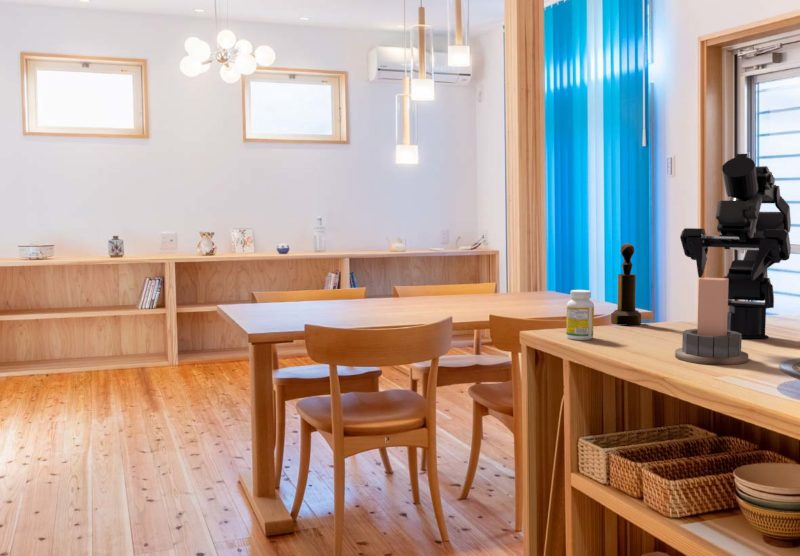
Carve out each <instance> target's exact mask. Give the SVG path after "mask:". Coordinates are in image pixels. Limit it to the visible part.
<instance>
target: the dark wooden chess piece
mask: <svg viewBox="0 0 800 556" xmlns="http://www.w3.org/2000/svg"><path fill="white" fill-rule="evenodd" d="M634 253H635V246H634V245H633V244H631V243H624V244H622V245H621V246H620V254H621V256H622V257H623V263H621V266H622V267H621V268H622V272H623V273H618V274H617V309H615V310H614V311H612V312H611V315H610V324H613V325H618V326H619V325H620V326H638V325H641V324H642V313H641V312H640V311H639V310H638V309H636V291H637V290H636V288H637V286H636V285H637V284H636V282H637V281H636V280H637V275H636V274H635V273H634V274H633V273H631V272H632V268H633V263H632V260H631V259H632V256H633V255H634ZM637 324H638V325H637Z"/></svg>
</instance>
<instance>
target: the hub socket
mask: <svg viewBox="0 0 800 556" xmlns="http://www.w3.org/2000/svg"><path fill="white" fill-rule="evenodd" d="M742 339H743V338H742V334H741V333H738V332H735V331H729V330H727V336H705V335H698V334H697V328H690V329H689V328H688V329H684V330H683V331H682V346H681V347H679V348H676V349H675V350H674V351H675V353H674V355H675V357H674V358H676V359H678V360H680V361H684V362H687V363H692V364H693V363H694V364H701V365H712V366H713V365H714V366H734V365H742V364H747V363H748V362H749V354H748V353H747V352H745V351H743V350H742Z"/></svg>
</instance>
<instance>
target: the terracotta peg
mask: <svg viewBox="0 0 800 556" xmlns="http://www.w3.org/2000/svg"><path fill="white" fill-rule="evenodd" d="M728 283H729V279H728V278H724V277H708V276H707V277H701V278H698V294H697V296H698V297H697V299H698V301H697V328H696V329H697V334H698V335H705V336H727V313H728V312H729V308H728V307H729V306H728Z"/></svg>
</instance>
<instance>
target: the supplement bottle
mask: <svg viewBox="0 0 800 556" xmlns="http://www.w3.org/2000/svg"><path fill="white" fill-rule="evenodd" d="M569 293H570V295H569V297H570V298H571V299H570V300H568V302H567V303H566V338H567V339H569V340H574V341H587V340H592V339H593V338H594V320H595V319H594V318H595V315H594V314H595V305H594V302H592V301H591V300H590V299H591V297H592V292H591V290H586V289H571V290H570V292H569Z"/></svg>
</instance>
